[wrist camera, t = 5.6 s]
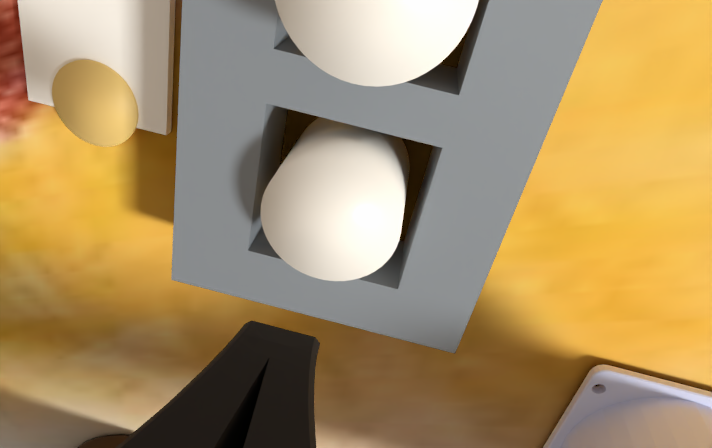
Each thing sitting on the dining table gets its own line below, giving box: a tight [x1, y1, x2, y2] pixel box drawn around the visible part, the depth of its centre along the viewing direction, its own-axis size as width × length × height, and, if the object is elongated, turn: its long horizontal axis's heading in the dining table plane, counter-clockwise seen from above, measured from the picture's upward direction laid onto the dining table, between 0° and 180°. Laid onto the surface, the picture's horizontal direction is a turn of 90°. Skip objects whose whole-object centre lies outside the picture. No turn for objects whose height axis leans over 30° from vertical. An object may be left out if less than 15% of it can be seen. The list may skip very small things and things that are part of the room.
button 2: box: [261, 117, 410, 281], centre depth 17 cm, size 4×4×4 cm
